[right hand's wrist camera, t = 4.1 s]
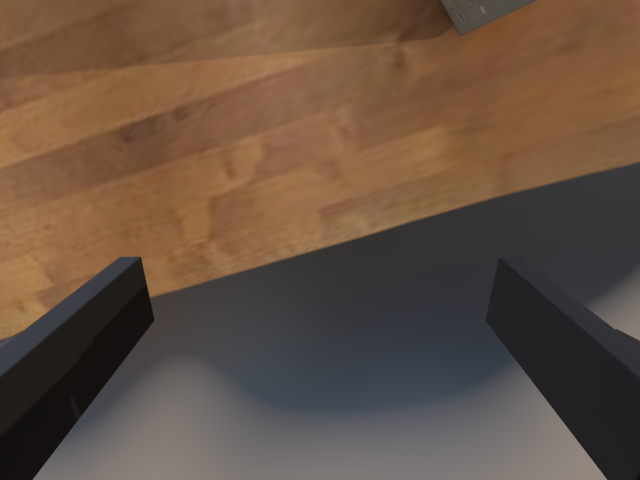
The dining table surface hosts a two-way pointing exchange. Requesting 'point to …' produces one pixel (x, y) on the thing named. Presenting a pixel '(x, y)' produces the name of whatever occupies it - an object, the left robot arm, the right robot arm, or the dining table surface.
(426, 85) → the dining table surface
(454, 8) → the hard drive box
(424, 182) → the dining table surface
